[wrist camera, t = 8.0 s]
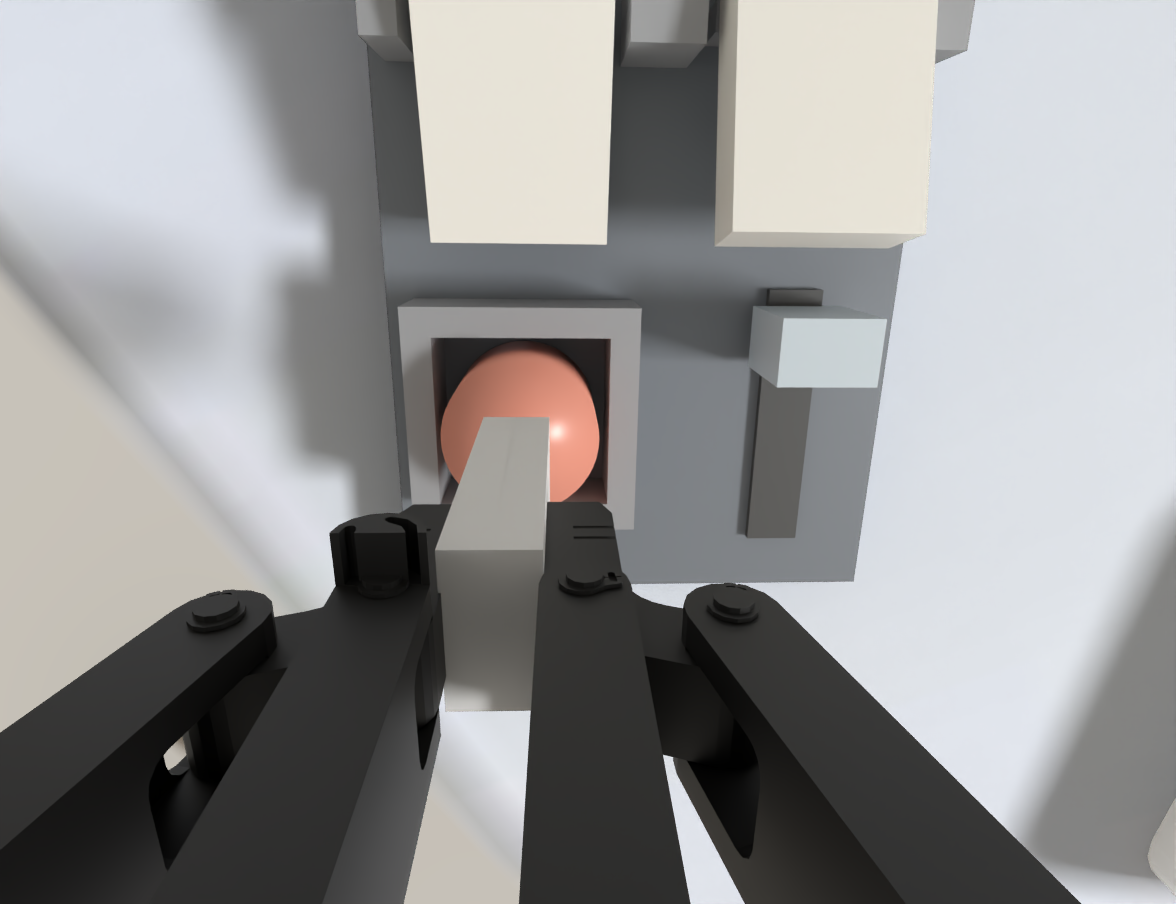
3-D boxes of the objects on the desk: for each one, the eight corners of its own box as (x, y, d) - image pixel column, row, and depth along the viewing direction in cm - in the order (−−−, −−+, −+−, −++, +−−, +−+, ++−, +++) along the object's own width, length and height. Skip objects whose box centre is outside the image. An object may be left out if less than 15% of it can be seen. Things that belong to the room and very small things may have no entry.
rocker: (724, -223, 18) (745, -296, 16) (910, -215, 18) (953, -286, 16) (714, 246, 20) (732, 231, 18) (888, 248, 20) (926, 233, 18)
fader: (753, 305, 23) (783, 318, 20) (842, 306, 23) (887, 319, 20) (748, 366, 23) (776, 387, 20) (835, 366, 24) (877, 387, 20)
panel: (363, -215, 20) (304, -351, 15) (935, -191, 21) (1046, -313, 16) (418, 561, 28) (390, 630, 23) (833, 557, 29) (889, 623, 24)
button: (453, 340, 23) (436, 360, 19) (594, 340, 23) (600, 361, 20) (460, 472, 24) (444, 513, 21) (591, 471, 24) (597, 511, 21)
